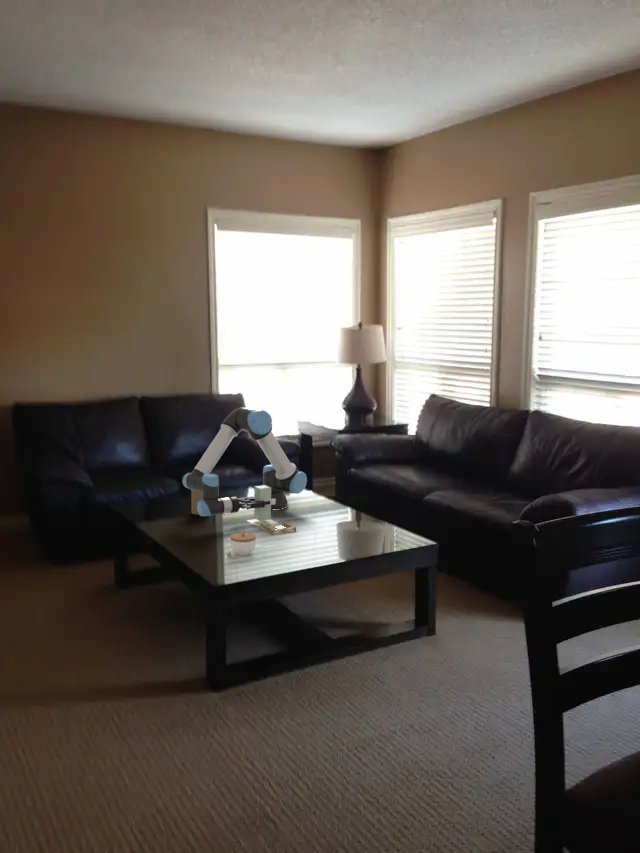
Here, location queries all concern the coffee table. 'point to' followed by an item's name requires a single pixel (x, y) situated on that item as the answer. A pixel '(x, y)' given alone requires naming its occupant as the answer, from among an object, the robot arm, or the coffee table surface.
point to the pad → (262, 522)
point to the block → (195, 501)
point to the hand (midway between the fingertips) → (271, 500)
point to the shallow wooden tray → (272, 529)
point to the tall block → (260, 495)
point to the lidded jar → (243, 543)
